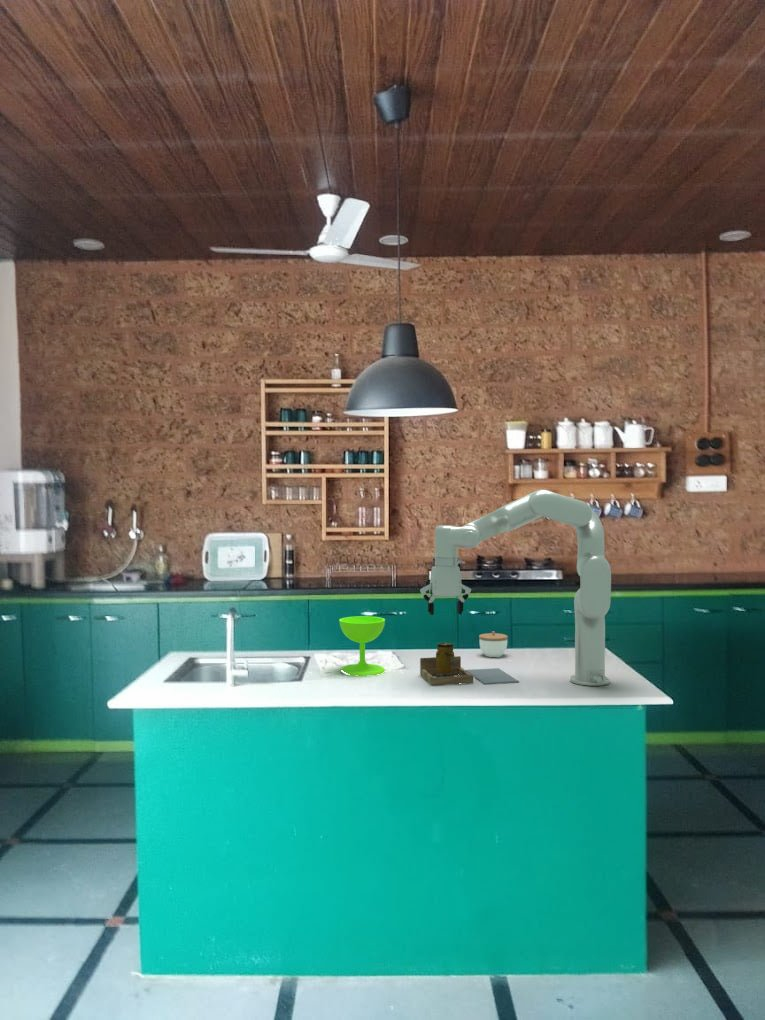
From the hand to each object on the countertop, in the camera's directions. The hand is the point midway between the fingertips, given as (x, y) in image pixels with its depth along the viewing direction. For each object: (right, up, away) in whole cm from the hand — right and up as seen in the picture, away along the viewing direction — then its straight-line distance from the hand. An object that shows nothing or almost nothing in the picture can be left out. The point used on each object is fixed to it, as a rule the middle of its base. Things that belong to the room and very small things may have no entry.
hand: (445, 614), depth 281 cm
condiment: (0, -22, +1) cm, 22 cm away
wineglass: (-28, -22, +14) cm, 38 cm away
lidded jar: (+21, -21, +40) cm, 49 cm away
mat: (+16, -22, +5) cm, 27 cm away
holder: (0, -22, +1) cm, 22 cm away
